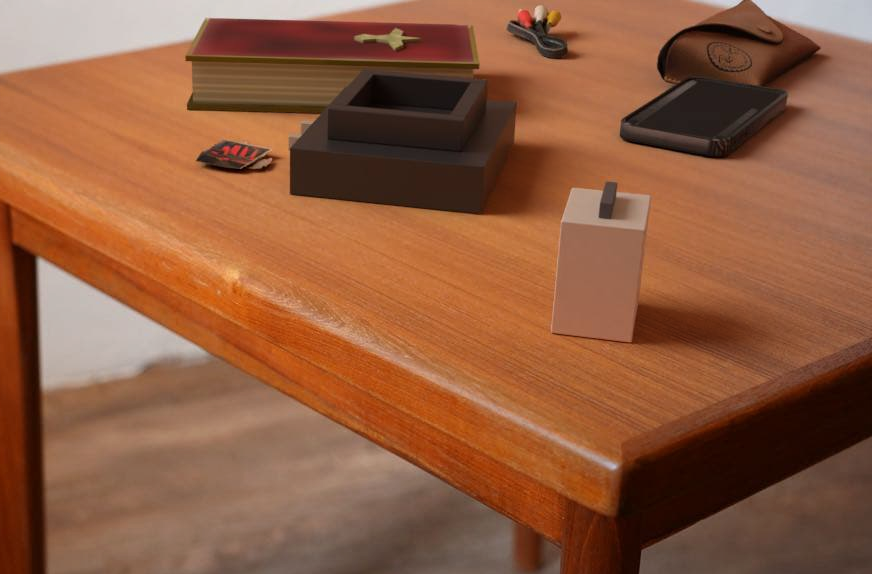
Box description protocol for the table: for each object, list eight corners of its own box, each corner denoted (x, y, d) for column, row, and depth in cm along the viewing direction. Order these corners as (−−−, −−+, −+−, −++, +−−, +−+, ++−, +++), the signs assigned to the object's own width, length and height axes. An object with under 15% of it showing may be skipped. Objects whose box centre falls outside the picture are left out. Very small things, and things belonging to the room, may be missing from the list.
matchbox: (191, 167, 93) (191, 159, 93) (215, 143, 98) (215, 136, 97) (261, 173, 92) (261, 166, 92) (282, 149, 97) (282, 142, 97)
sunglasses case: (762, 92, 108) (729, 9, 107) (678, 125, 112) (645, 46, 112) (825, 47, 122) (796, -27, 121) (748, 78, 126) (719, 7, 125)
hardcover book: (207, 65, 116) (206, 13, 114) (469, 72, 115) (472, 20, 113) (187, 109, 105) (185, 51, 103) (476, 117, 104) (479, 60, 102)
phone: (615, 122, 100) (691, 74, 111) (614, 138, 100) (689, 88, 111) (726, 143, 96) (793, 90, 107) (724, 159, 96) (791, 105, 108)
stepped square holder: (513, 144, 99) (519, 72, 97) (481, 214, 87) (486, 134, 85) (322, 126, 102) (323, 56, 100) (264, 191, 90) (264, 113, 88)
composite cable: (572, 59, 119) (574, 29, 118) (513, 58, 119) (516, 28, 118) (557, 30, 128) (559, 2, 127) (503, 29, 128) (505, 1, 127)
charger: (638, 303, 76) (653, 179, 72) (631, 343, 71) (647, 213, 68) (561, 294, 76) (573, 172, 73) (550, 333, 72) (562, 205, 69)
